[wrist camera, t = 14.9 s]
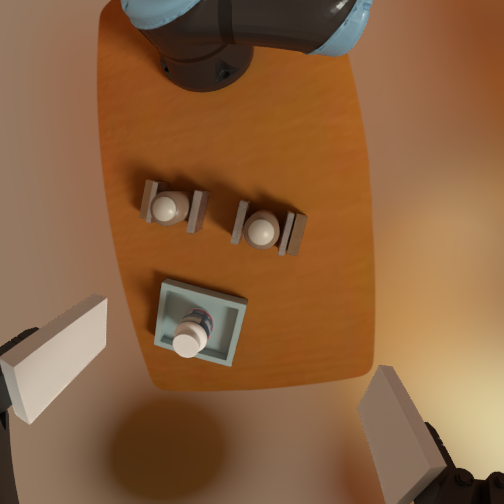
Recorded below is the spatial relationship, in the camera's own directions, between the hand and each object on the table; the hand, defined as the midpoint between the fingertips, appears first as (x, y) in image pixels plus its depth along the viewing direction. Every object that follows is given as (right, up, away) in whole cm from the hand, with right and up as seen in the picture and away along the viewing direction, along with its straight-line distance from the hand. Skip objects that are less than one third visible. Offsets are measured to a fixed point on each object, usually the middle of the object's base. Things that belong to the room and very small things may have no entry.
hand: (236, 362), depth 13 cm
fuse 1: (-10, +12, +34) cm, 37 cm away
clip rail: (-4, +11, +34) cm, 35 cm away
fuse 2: (+2, +9, +33) cm, 35 cm away
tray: (-8, -7, +38) cm, 39 cm away
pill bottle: (-8, -7, +37) cm, 39 cm away
